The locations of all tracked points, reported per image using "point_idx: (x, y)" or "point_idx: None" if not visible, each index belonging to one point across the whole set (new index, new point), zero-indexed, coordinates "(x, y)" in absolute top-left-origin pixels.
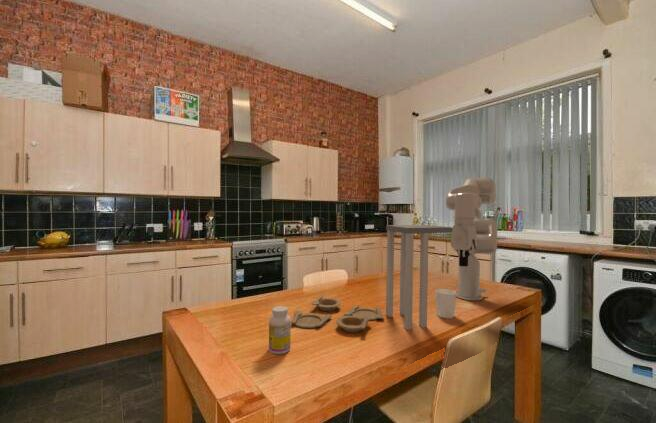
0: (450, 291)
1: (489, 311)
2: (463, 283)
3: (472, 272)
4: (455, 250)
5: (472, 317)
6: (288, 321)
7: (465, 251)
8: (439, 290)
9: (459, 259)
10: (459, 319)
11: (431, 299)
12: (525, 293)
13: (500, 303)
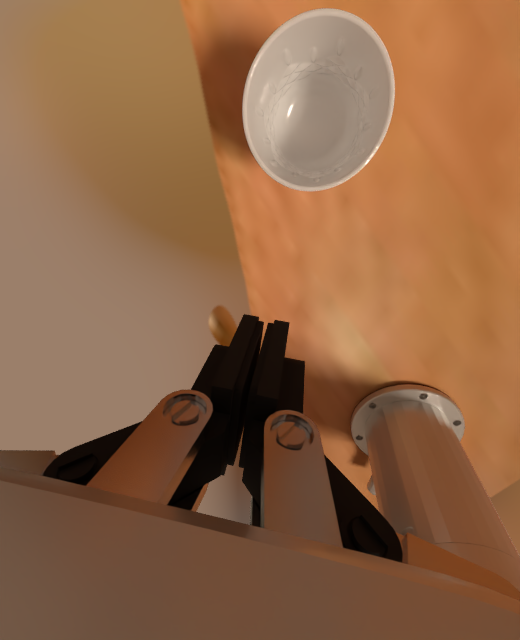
0: (322, 183)
1: (260, 346)
2: (427, 446)
3: (401, 518)
4: (442, 556)
5: (244, 233)
6: None
7: (94, 484)
8: (383, 117)
9: (276, 363)
10: (250, 155)
11: (510, 269)
12: None
13: None
